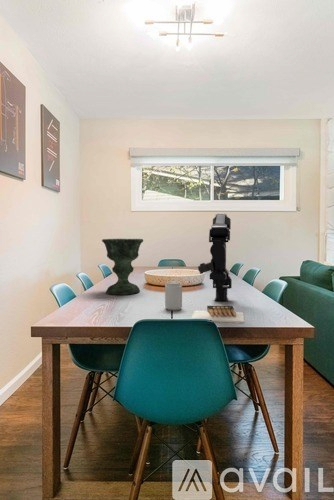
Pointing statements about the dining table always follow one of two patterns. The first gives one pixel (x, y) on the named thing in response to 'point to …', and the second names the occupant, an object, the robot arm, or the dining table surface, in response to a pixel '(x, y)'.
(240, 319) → the mat
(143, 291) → the dining table surface
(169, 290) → the can
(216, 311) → the ammunition clip
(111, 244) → the goblet
